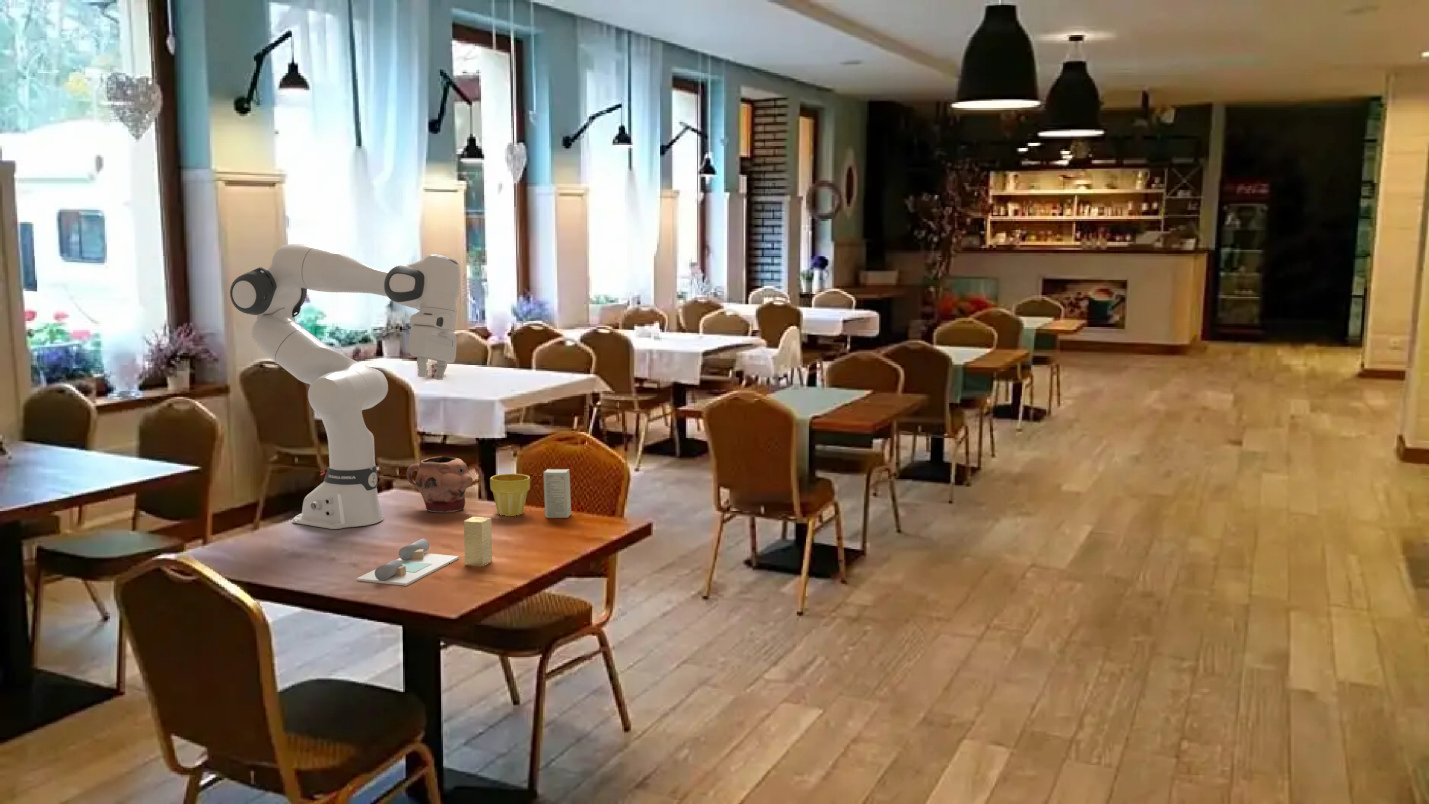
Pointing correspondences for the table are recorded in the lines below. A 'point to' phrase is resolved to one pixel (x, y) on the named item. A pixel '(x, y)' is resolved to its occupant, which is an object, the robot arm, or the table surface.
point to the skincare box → (557, 493)
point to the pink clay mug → (441, 483)
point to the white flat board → (409, 565)
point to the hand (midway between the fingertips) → (430, 378)
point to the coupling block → (477, 541)
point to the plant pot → (510, 493)
